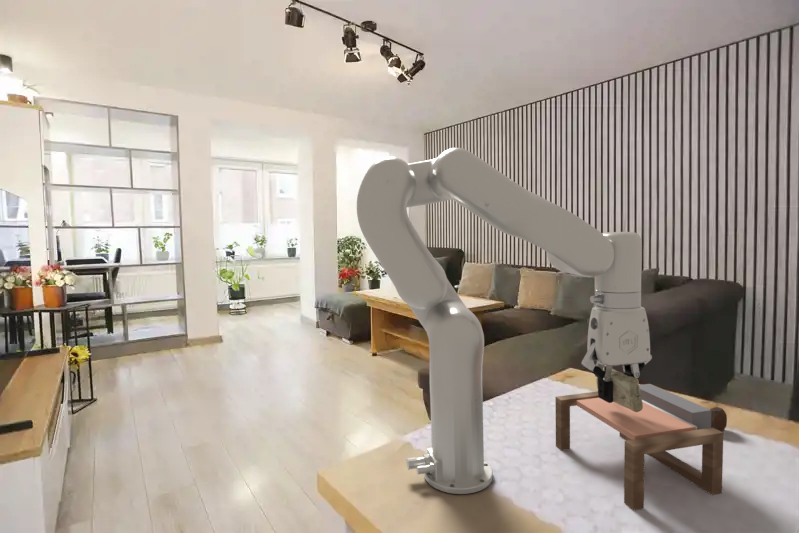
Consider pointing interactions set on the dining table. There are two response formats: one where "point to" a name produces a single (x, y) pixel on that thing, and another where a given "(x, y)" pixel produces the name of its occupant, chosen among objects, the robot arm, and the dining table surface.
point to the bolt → (718, 418)
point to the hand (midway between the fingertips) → (616, 397)
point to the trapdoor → (650, 414)
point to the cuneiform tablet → (626, 391)
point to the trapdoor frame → (654, 453)
